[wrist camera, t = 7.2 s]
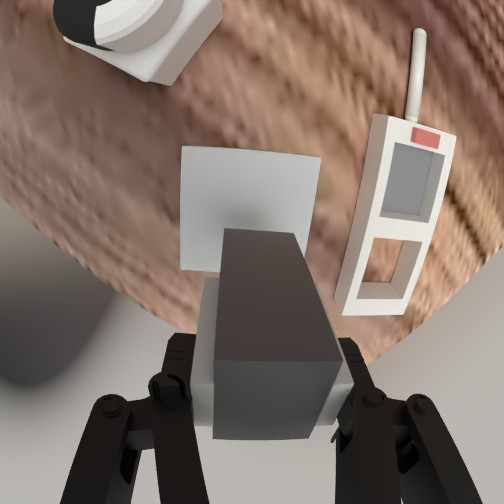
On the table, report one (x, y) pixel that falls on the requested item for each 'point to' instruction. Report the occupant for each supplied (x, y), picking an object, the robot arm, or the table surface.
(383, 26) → the table surface
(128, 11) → the medicine bottle
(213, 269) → the mat
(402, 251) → the power strip
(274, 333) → the block
